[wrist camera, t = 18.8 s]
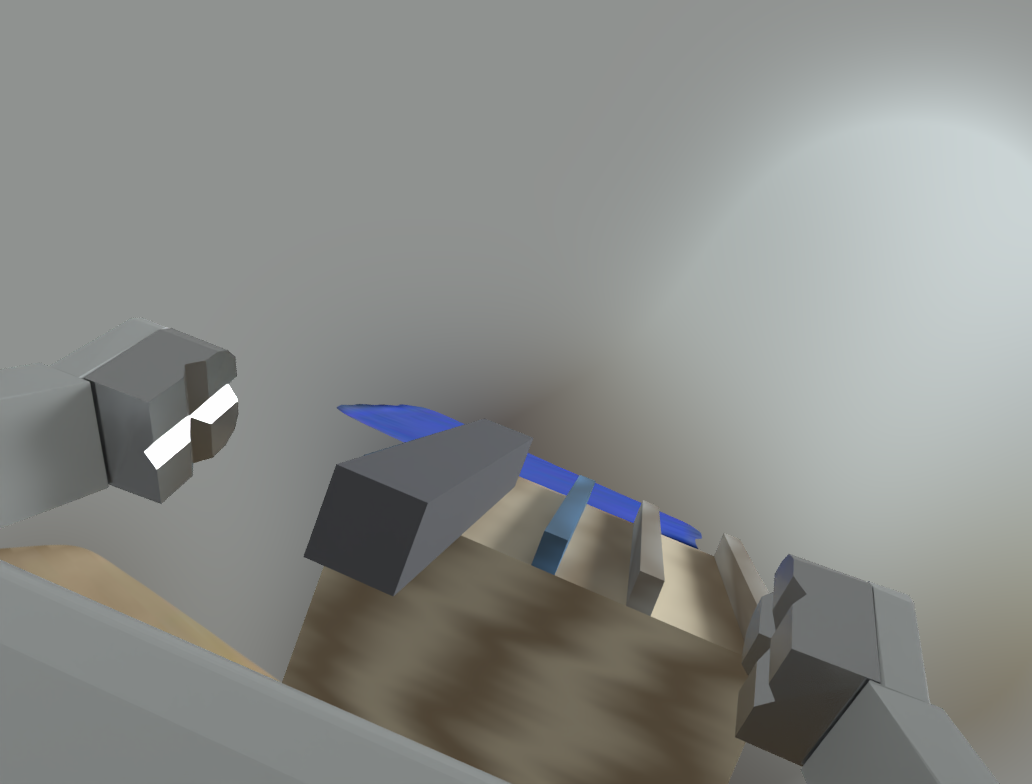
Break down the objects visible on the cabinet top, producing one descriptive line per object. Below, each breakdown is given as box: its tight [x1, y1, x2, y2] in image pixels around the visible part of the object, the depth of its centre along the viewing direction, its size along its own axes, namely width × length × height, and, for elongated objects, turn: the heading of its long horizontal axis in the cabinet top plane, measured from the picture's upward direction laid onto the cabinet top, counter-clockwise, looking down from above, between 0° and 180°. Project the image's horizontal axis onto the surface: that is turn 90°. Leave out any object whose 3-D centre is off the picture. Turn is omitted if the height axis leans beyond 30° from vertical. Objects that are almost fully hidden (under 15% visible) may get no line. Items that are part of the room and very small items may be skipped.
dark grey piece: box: [304, 419, 533, 596], centre depth 33 cm, size 3×21×3 cm, turn 170°
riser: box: [282, 430, 769, 784], centre depth 39 cm, size 18×17×28 cm
